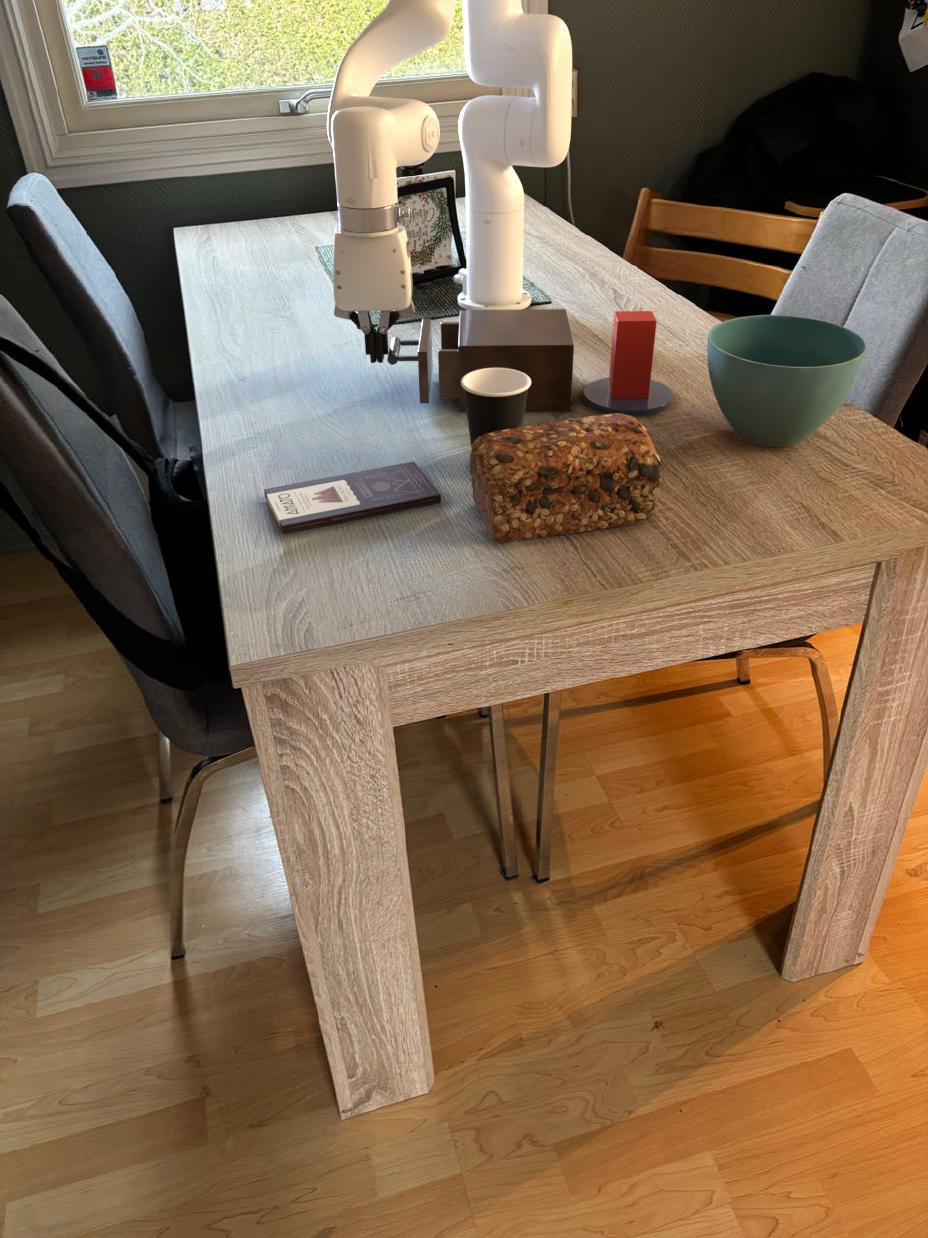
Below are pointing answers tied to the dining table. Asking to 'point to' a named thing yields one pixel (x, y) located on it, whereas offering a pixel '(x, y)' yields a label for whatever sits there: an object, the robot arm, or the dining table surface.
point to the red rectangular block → (632, 354)
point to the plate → (627, 399)
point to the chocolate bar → (350, 496)
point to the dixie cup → (495, 400)
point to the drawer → (446, 359)
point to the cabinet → (521, 351)
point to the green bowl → (781, 374)
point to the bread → (565, 477)
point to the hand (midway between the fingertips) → (377, 359)
